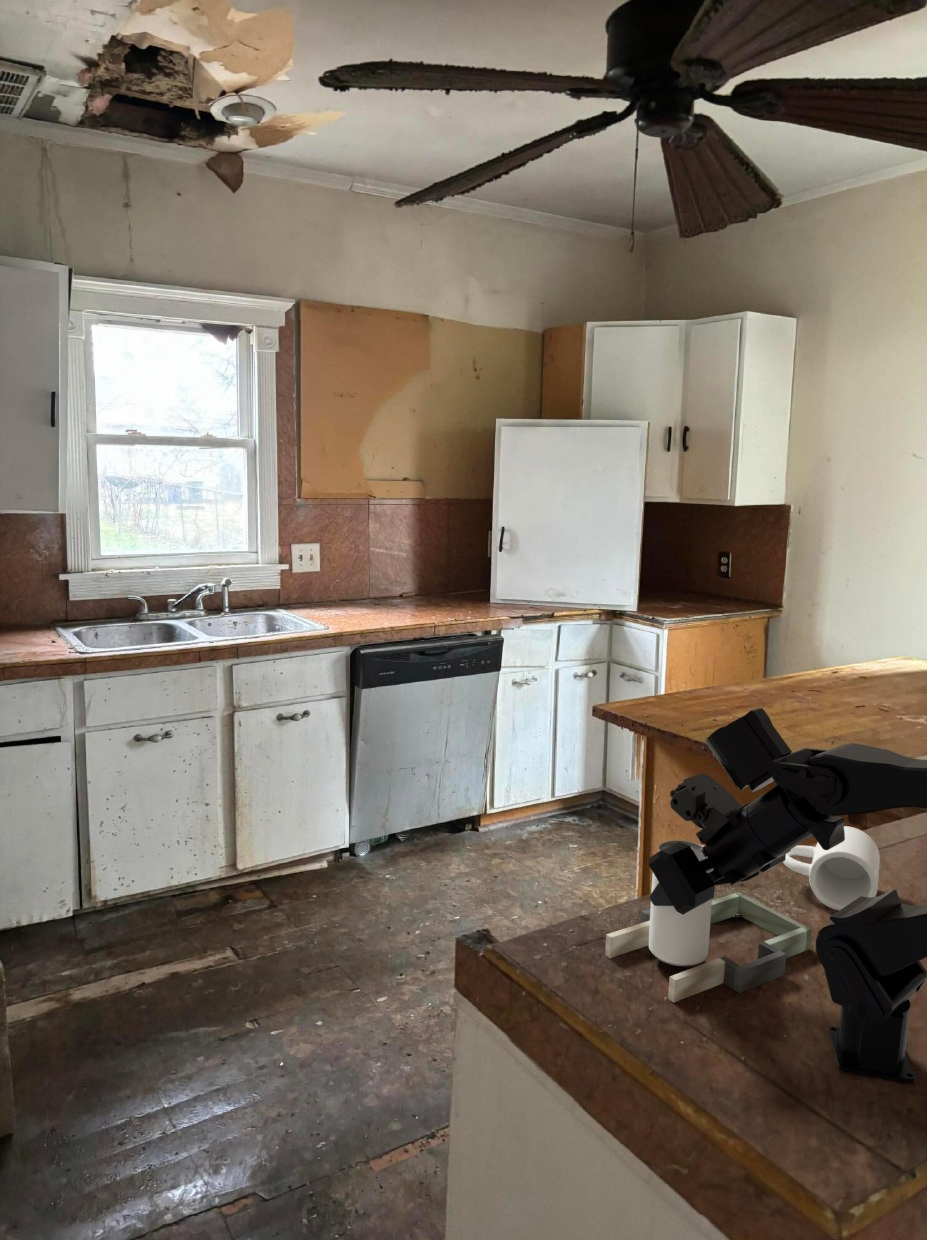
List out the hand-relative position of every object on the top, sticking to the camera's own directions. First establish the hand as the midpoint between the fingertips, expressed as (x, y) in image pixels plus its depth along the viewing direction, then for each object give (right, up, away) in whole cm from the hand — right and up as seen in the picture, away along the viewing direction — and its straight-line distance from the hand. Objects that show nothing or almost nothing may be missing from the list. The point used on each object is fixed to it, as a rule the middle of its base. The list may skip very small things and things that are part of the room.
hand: (670, 892), depth 98 cm
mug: (+25, -6, +19) cm, 32 cm away
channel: (+5, -8, +3) cm, 9 cm away
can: (+1, -7, 0) cm, 7 cm away
